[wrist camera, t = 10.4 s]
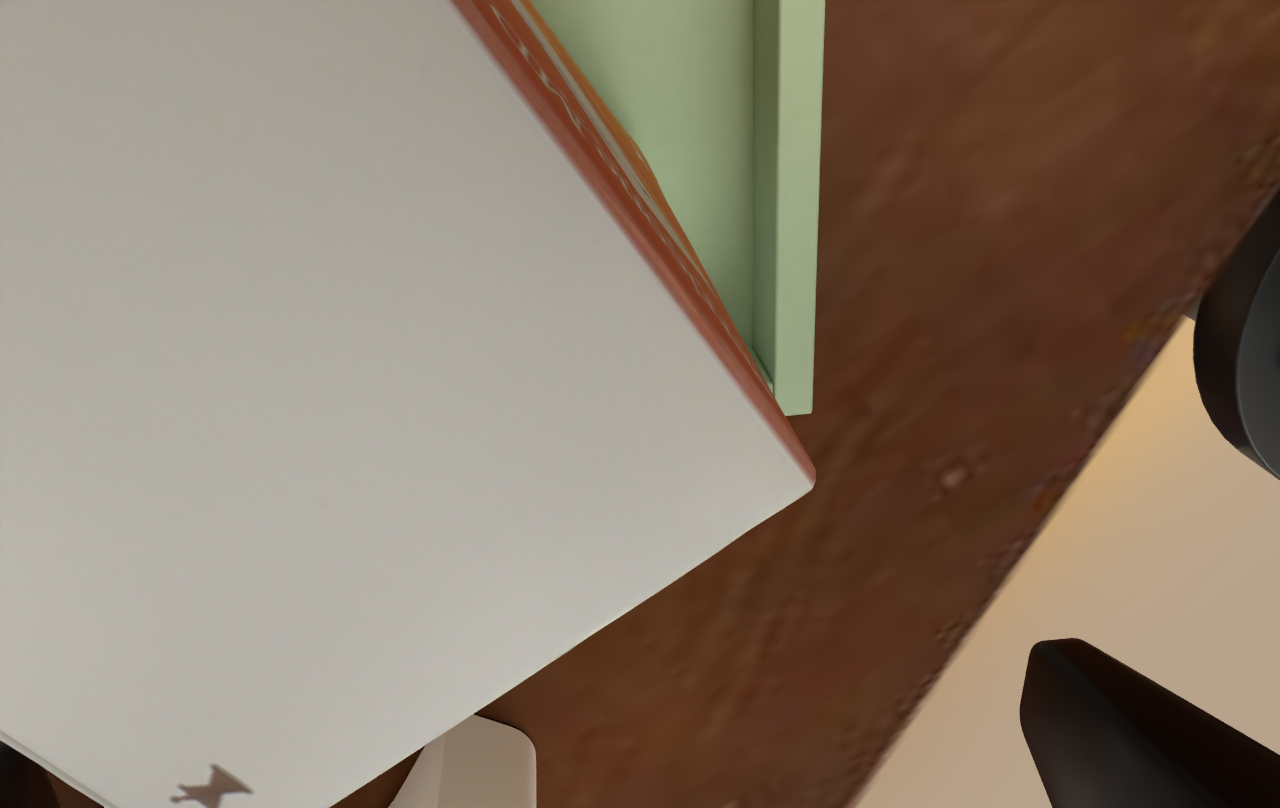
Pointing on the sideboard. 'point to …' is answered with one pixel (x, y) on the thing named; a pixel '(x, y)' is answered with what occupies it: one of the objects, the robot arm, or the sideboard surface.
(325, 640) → the small box
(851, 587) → the sideboard surface
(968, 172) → the sideboard surface
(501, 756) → the white slotted holder
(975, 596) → the sideboard surface
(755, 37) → the tray
